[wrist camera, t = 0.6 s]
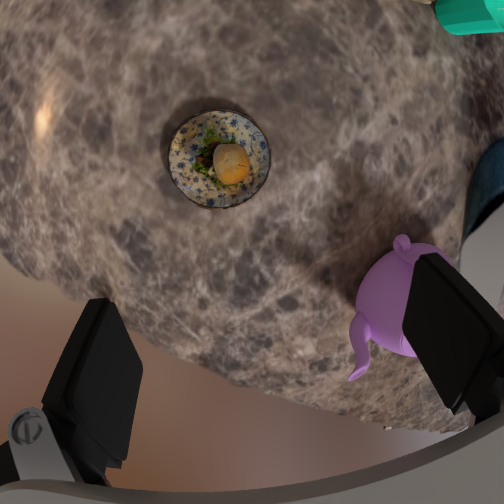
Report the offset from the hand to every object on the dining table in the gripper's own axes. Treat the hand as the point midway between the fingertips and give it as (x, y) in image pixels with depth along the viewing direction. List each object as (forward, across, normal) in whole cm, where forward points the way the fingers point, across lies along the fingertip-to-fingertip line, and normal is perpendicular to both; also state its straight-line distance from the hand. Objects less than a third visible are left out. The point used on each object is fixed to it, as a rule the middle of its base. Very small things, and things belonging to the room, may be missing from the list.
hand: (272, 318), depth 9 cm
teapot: (+29, -20, +23) cm, 43 cm away
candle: (+29, -31, -19) cm, 47 cm away
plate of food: (+30, +2, +1) cm, 30 cm away
